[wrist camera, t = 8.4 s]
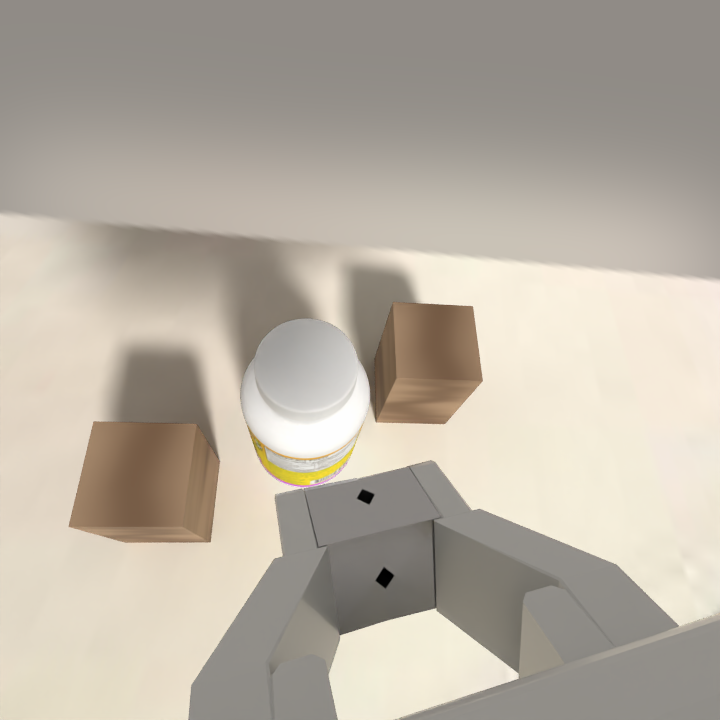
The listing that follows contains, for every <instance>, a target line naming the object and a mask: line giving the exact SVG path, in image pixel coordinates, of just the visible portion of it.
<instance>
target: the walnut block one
mask: <svg viewBox="0 0 720 720" xmlns="http://www.w3.org/2000/svg"><path fill="white" fill-rule="evenodd" d="M219 464H220V461H219V460H218V458H217V456H216V455H215V453H214V451H213V450H212V448H211V447H210V445H209V443H208V442H207V440H206V438H205V437H204V435H203V433H202V432H201V430H200V429H199V427H198V425H197V424H179V423H135V422H93V426H92V430H91V435H90V439H89V443H88V447H87V451H86V456H85V460H84V464H83V468H82V472H81V477H80V481H79V485H78V489H77V493H76V498H75V502H74V506H73V510H72V515H71V519H70V523H69V527H71V528H75V529H79V530H82V531H86V532H89V533H93V534H97V535H100V536H104V537H107V538H111V539H115V540H118V541H122V542H125V543H137V542H211V533H212V525H213V516H214V507H215V499H216V490H217V481H218V472H219Z"/></svg>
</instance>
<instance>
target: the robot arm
mask: <svg viewBox="0 0 720 720" xmlns="http://www.w3.org/2000/svg"><path fill="white" fill-rule="evenodd" d="M275 504H276V511H277V518H278V525H279V532H280V539H281V546H282V553H283V557H279V558H275V559H274V560H273V562H272V563H271V565H270V566H269V568H268V569H267V571H266V572H265V574H264V575H263V577H262V578H261V580H260V581H259V583H258V584H257V586H256V588H255V589H254V591H253V592H252V594H251V595H250V597H249V598H248V600H247V601H246V603H245V604H244V606H243V607H242V609H241V610H240V612H239V614H238V615H237V617H236V618H235V620H234V621H233V623H232V624H231V626H230V627H229V629H228V630H227V632H226V633H225V635H224V636H223V638H222V639H221V641H220V643H219V644H218V646H217V647H216V649H215V650H214V652H213V653H212V655H211V656H210V658H209V659H208V661H207V662H206V664H205V665H204V667H203V669H202V670H201V672H200V673H199V675H198V676H197V678H196V679H195V681H194V682H193V684H192V685H191V696H190V708H189V719H188V720H338V719H337V715H336V710H335V705H334V700H333V696H332V691H331V686H330V681H329V677H328V675H329V672H330V668H331V665H332V662H333V659H334V656H335V653H336V650H337V647H338V644H339V640H340V635H342V634H346V633H349V632H352V631H355V630H358V629H361V628H365V627H368V626H371V625H374V624H377V623H380V622H384V621H387V620H391V619H395V618H399V617H403V616H407V615H411V614H415V613H419V612H423V611H427V610H430V609H434V608H437V611H438V612H439V613H440V614H442V615H443V616H444V617H446V618H447V619H448V620H450V621H451V622H452V623H454V624H455V625H456V626H457V627H459V628H460V629H461V630H463V631H464V632H465V633H467V634H468V635H469V636H470V637H472V638H473V639H474V640H476V641H477V642H478V643H480V644H481V645H482V646H484V647H485V648H486V649H487V650H489V651H490V652H491V653H493V654H494V655H495V656H497V657H498V658H499V659H501V660H502V661H503V662H504V663H506V664H507V665H508V666H510V667H511V668H512V669H514V670H515V671H516V672H518V673H519V679H517V680H514V681H511V682H508V683H505V684H502V685H499V686H496V687H493V688H489V689H486V690H483V691H480V692H477V693H474V694H471V695H468V696H465V697H462V698H459V699H456V700H453V701H450V702H447V703H444V704H441V705H437V706H434V707H431V708H428V709H425V710H422V711H419V712H416V713H413V714H410V715H407V716H404V717H401V718H398V719H395V720H720V613H719V614H716V615H713V616H710V617H706V618H703V619H700V620H697V621H694V622H691V623H688V624H685V625H682V626H679V625H678V624H677V623H675V622H674V621H673V620H672V619H671V618H670V617H669V616H668V615H667V614H666V613H665V612H664V611H663V610H662V609H661V608H660V607H659V606H658V605H657V604H656V603H655V602H654V601H653V600H652V599H651V598H650V597H649V596H648V595H647V594H646V593H645V592H644V591H643V590H642V589H641V588H640V587H639V586H638V585H637V584H636V583H635V582H634V581H633V580H632V579H631V578H630V577H628V576H627V575H626V574H625V573H624V572H623V571H622V570H621V569H620V568H619V567H618V566H617V565H616V564H613V563H611V562H608V561H606V560H604V559H601V558H599V557H596V556H594V555H591V554H589V553H586V552H584V551H582V550H579V549H577V548H574V547H572V546H569V545H567V544H564V543H562V542H560V541H557V540H555V539H552V538H550V537H547V536H545V535H542V534H540V533H538V532H535V531H533V530H530V529H528V528H525V527H523V526H520V525H518V524H515V523H513V522H511V521H508V520H506V519H503V518H501V517H498V516H496V515H493V514H491V513H489V512H486V511H484V510H481V509H477V510H473V511H472V510H471V508H470V507H469V506H468V505H467V503H466V502H465V501H464V499H463V498H462V497H461V495H460V494H459V493H458V491H457V490H456V489H455V487H454V486H453V485H452V484H451V482H450V481H449V480H448V478H447V477H446V476H445V474H444V473H443V472H442V470H441V469H440V468H439V466H438V465H437V464H436V463H435V462H434V461H431V460H430V461H426V462H422V463H419V464H415V465H411V466H407V467H405V468H401V469H396V470H392V471H388V472H383V473H379V474H375V475H370V476H366V477H362V478H358V479H357V478H354V479H349V480H344V481H339V482H334V483H329V484H323V485H318V486H313V487H308V488H304V490H303V489H298V490H293V491H289V492H284V493H279V494H275Z"/></svg>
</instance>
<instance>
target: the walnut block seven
mask: <svg viewBox="0 0 720 720" xmlns="http://www.w3.org/2000/svg"><path fill="white" fill-rule="evenodd" d="M374 360H375V398H376V422H383V423H423V424H445V423H446V422H447V421H448V420H449V419H450V418H451V416H452V415H453V414H454V413H455V412H456V411H457V410H458V408H459V407H460V406H461V405H462V404H463V403H464V402H465V400H466V399H467V398H468V397H469V396H470V395H471V394H472V393H473V391H474V390H475V389H476V388H477V387H478V386H479V385H480V383H481V382H482V381H483V380H482V372H481V364H480V357H479V349H478V341H477V334H476V326H475V319H474V311H473V306H457V305H438V304H419V303H400V302H393V304H392V307H391V310H390V313H389V316H388V319H387V322H386V325H385V328H384V331H383V334H382V337H381V340H380V343H379V347H378V350H377V353H376V356H375V359H374Z"/></svg>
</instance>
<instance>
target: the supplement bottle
mask: <svg viewBox="0 0 720 720" xmlns="http://www.w3.org/2000/svg"><path fill="white" fill-rule="evenodd" d="M240 399H241V407H242V411H243V415H244V418H245V421H246V423H247V426H248V429H249V432H250V435H251V439H252V441H253V444H254V447H255V450H256V453H257V456H258V458H259V460H260V462H261V464H262V466H263V467H264V468H265V470H266V471H267V472H268V473H269V474H270V475H271V476H272V477H273V478H275V479H276V480H278V481H280V482H282V483H284V484H286V485H289V486H293V487H301V488H307V487H313V486H318V485H321V484H324V483H326V482H328V481H329V480H331V479H332V478H334V477H335V476H336V475H338V474H339V473H340V472H341V470H342V469H343V468H344V467H345V465H346V464H347V462H348V460H349V459H350V456H351V454H352V451H353V448H354V446H355V443H356V441H357V438H358V435H359V433H360V430H361V428H362V425H363V423H364V420H365V417H366V414H367V411H368V408H369V402H370V387H369V381H368V378H367V375H366V372H365V370H364V368H363V366H362V364H361V362H360V361H359V359H358V358H357V353H356V350H355V348H354V346H353V344H352V342H351V341H350V339H349V338H348V337H347V336H346V335H345V334H344V333H343V332H342V331H341V330H340V329H338V328H337V327H335V326H333V325H332V324H330V323H327V322H325V321H321V320H317V319H308V318H307V319H295V320H291V321H288V322H285V323H282V324H281V325H279V326H277V327H275V328H274V329H273V330H271V331H270V332H269V333H268V334H267V335H266V336H265V337H264V338H263V340H262V341H261V343H260V344H259V346H258V348H257V351H256V354H255V357H254V358H253V360H252V361H251V363H250V364H249V366H248V368H247V370H246V372H245V374H244V377H243V380H242V385H241V394H240Z"/></svg>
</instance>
